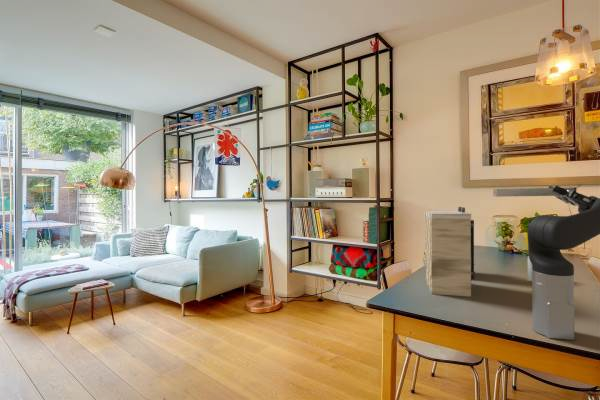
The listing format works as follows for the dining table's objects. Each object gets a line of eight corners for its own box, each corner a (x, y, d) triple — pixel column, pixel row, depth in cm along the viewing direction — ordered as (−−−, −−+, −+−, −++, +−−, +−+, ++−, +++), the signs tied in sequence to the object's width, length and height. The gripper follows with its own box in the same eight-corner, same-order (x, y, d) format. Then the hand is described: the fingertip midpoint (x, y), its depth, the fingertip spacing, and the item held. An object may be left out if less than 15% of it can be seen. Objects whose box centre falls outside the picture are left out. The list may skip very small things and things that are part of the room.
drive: (576, 195, 116) (576, 187, 115) (496, 196, 122) (496, 188, 122) (570, 195, 119) (570, 187, 119) (493, 196, 126) (493, 189, 126)
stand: (471, 297, 120) (471, 208, 119) (432, 294, 124) (431, 208, 123) (458, 281, 141) (458, 206, 141) (425, 279, 145) (424, 206, 144)
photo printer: (535, 277, 147) (535, 250, 146) (546, 279, 143) (546, 252, 143) (525, 280, 141) (525, 253, 141) (536, 283, 137) (536, 254, 137)
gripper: (592, 201, 122) (547, 180, 126) (619, 202, 108) (567, 178, 112) (581, 217, 123) (536, 196, 127) (605, 220, 109) (555, 196, 113)
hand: (551, 188), depth 119 cm, fingers closed on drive, 4 cm apart
